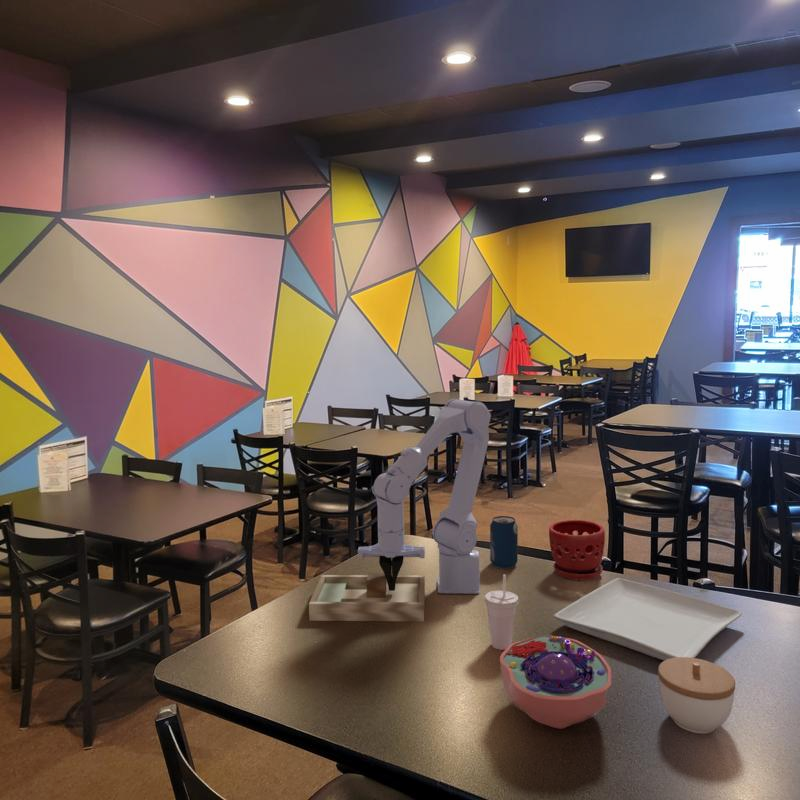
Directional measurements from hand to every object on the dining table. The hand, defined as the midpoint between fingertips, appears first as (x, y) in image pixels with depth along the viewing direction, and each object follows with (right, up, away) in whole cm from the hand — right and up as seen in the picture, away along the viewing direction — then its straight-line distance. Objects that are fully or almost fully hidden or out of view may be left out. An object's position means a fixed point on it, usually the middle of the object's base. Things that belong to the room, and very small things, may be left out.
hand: (392, 588), depth 145 cm
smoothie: (+21, -6, -18) cm, 29 cm away
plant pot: (+45, -1, +17) cm, 48 cm away
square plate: (+52, -5, -12) cm, 53 cm away
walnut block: (-3, -1, 0) cm, 4 cm away
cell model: (+26, -8, -41) cm, 49 cm away
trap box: (-5, -4, +1) cm, 6 cm away
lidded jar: (+47, -8, -44) cm, 65 cm away
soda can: (+28, -1, +24) cm, 37 cm away
